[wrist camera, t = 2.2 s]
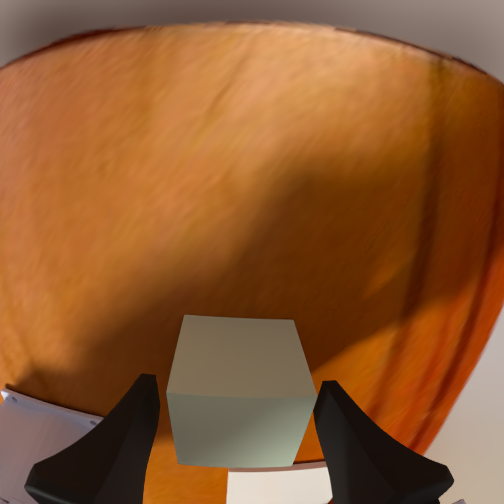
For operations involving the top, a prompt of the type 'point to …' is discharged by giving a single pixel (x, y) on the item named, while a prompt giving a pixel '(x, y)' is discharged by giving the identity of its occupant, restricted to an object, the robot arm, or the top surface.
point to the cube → (239, 392)
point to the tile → (280, 485)
